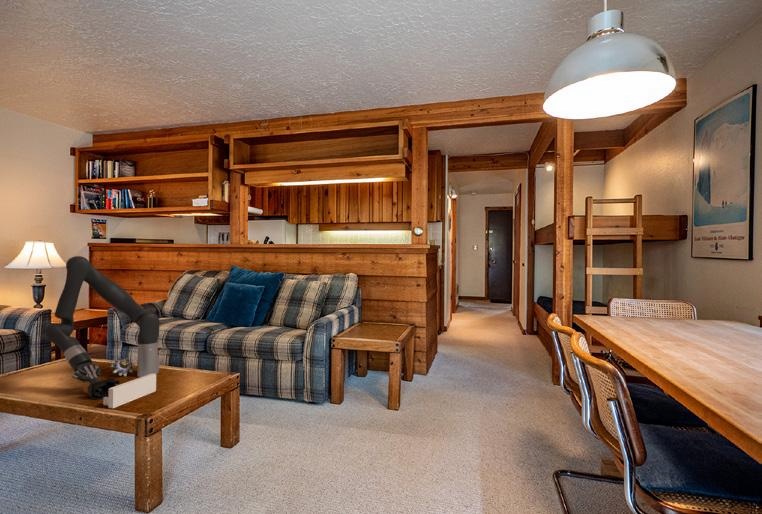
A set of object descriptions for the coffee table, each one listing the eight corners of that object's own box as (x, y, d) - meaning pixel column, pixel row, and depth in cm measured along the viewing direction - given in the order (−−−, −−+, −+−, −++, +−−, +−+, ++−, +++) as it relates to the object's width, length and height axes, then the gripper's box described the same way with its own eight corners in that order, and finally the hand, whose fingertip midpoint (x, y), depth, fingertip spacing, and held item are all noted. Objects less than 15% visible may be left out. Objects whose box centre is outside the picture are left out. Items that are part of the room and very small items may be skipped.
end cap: (109, 390, 180) (109, 376, 180) (120, 392, 178) (120, 378, 178) (87, 398, 171) (87, 382, 171) (98, 400, 169) (98, 384, 169)
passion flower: (124, 386, 203) (115, 372, 196) (109, 380, 206) (99, 366, 199) (142, 369, 211) (133, 355, 204) (127, 364, 215) (118, 350, 208)
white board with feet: (143, 389, 183) (143, 372, 183) (156, 390, 181) (156, 373, 181) (98, 406, 162) (99, 387, 162) (112, 408, 160) (113, 389, 160)
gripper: (67, 355, 172) (87, 385, 169) (95, 348, 185) (115, 376, 182) (58, 366, 173) (78, 396, 170) (87, 358, 186) (106, 386, 183)
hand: (97, 386), depth 176 cm, fingers closed
